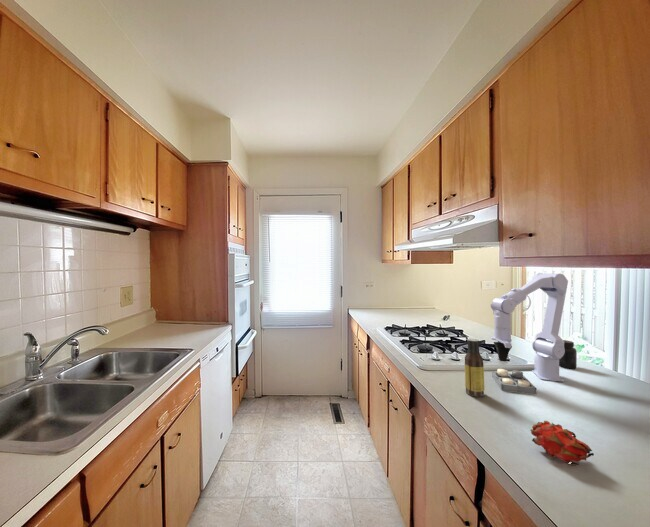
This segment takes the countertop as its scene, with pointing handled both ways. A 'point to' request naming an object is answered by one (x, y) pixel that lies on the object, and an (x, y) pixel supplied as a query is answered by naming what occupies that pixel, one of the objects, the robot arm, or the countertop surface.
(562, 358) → the supplement bottle
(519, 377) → the button back left charcoal
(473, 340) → the sauce bottle
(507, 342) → the robot arm
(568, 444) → the dragon fruit
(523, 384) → the button front left
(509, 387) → the button board
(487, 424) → the countertop surface
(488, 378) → the countertop surface
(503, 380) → the button front right
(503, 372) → the button back right
